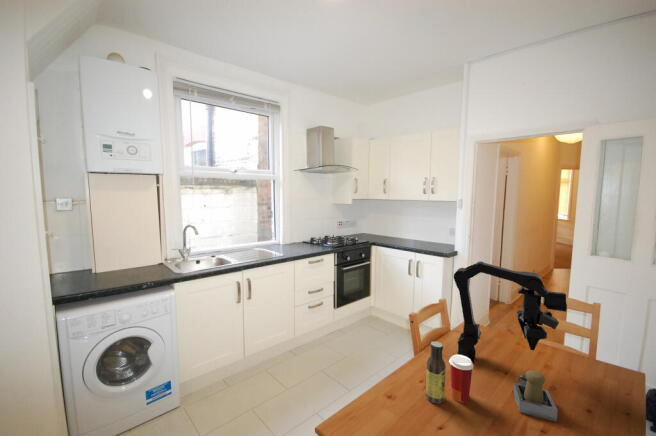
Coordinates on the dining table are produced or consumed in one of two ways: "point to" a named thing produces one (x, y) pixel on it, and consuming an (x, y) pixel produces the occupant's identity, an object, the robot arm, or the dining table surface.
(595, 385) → the dining table surface
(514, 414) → the dining table surface
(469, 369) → the paper cup
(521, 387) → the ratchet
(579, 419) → the dining table surface
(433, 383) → the sauce bottle
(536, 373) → the cork
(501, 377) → the dining table surface
